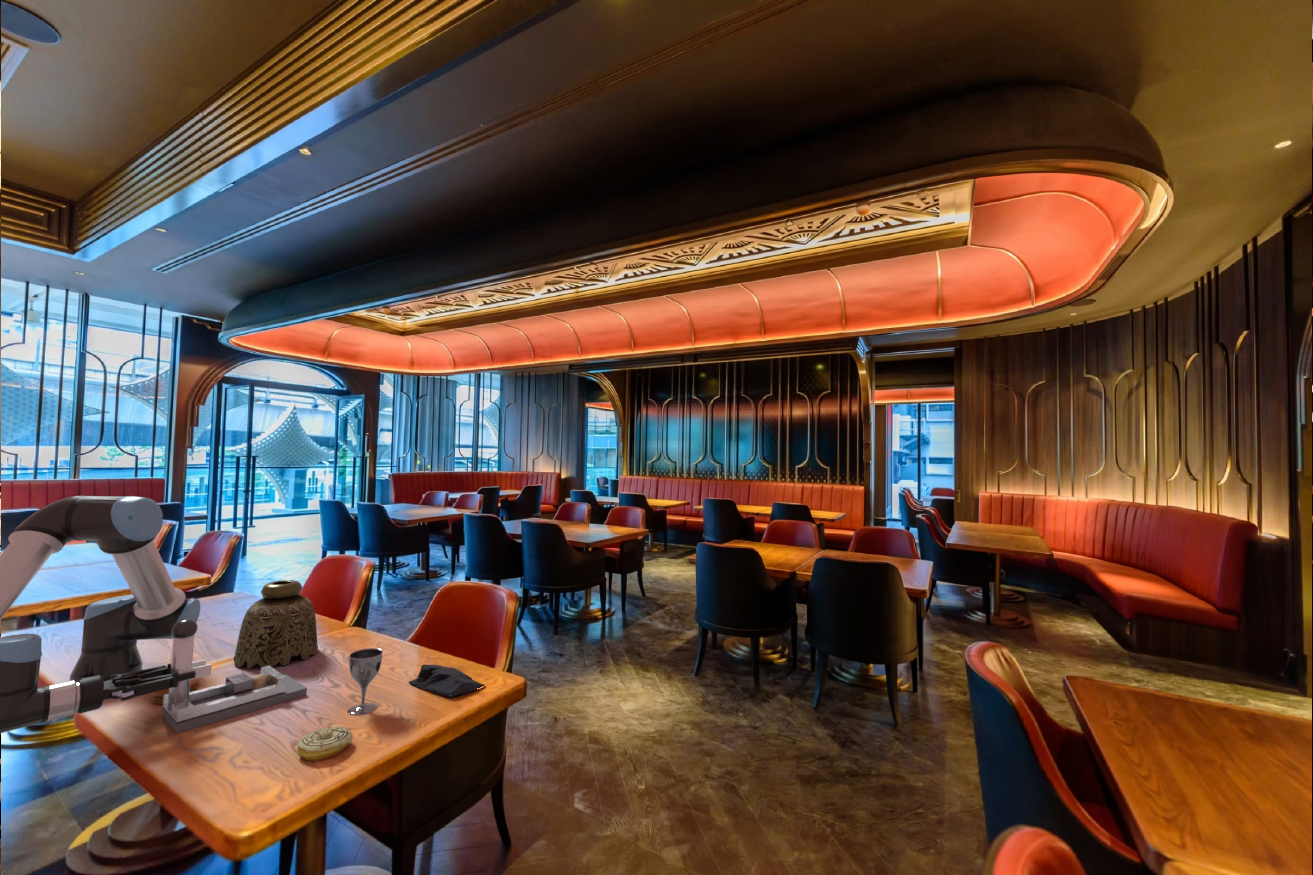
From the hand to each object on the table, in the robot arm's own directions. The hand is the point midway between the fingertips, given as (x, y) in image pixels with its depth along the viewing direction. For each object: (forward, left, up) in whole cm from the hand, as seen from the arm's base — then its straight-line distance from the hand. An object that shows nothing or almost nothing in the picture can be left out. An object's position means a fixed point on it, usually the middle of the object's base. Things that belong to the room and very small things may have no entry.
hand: (207, 667), depth 137 cm
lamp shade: (-32, +27, -12) cm, 43 cm away
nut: (0, +12, -10) cm, 15 cm away
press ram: (0, +4, -10) cm, 11 cm away
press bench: (0, +7, -12) cm, 14 cm away
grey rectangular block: (0, +7, -10) cm, 12 cm away
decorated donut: (+42, +12, -12) cm, 45 cm away
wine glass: (+28, +27, -12) cm, 41 cm away
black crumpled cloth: (+31, +51, -13) cm, 61 cm away
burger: (-17, -2, -12) cm, 21 cm away
